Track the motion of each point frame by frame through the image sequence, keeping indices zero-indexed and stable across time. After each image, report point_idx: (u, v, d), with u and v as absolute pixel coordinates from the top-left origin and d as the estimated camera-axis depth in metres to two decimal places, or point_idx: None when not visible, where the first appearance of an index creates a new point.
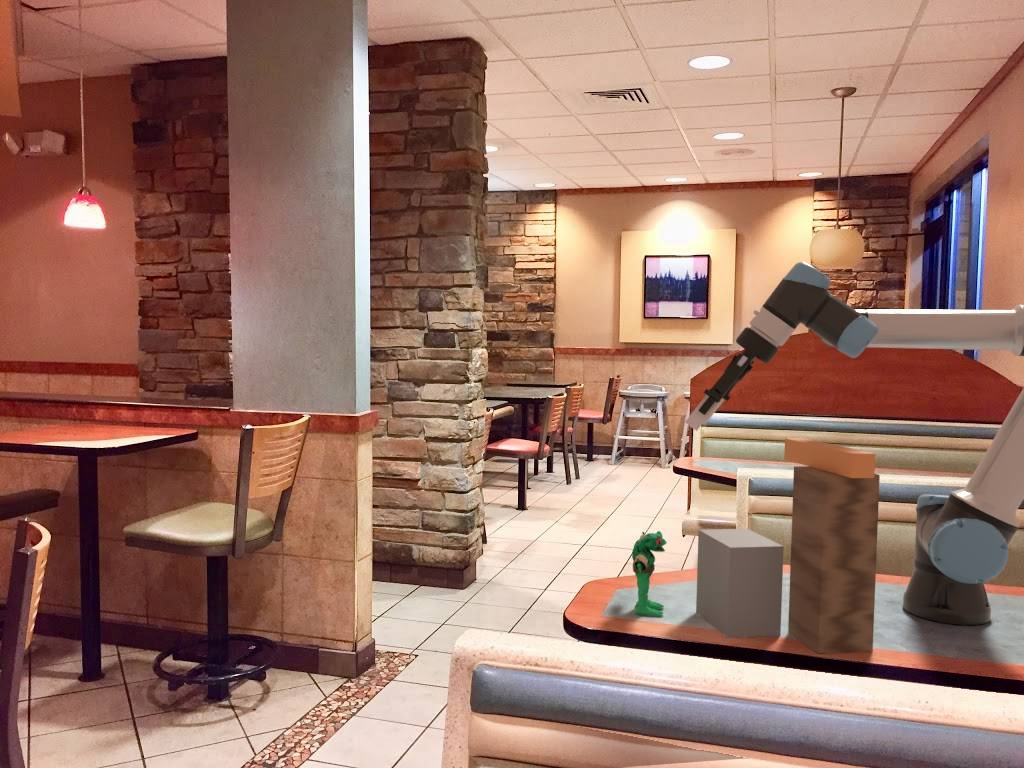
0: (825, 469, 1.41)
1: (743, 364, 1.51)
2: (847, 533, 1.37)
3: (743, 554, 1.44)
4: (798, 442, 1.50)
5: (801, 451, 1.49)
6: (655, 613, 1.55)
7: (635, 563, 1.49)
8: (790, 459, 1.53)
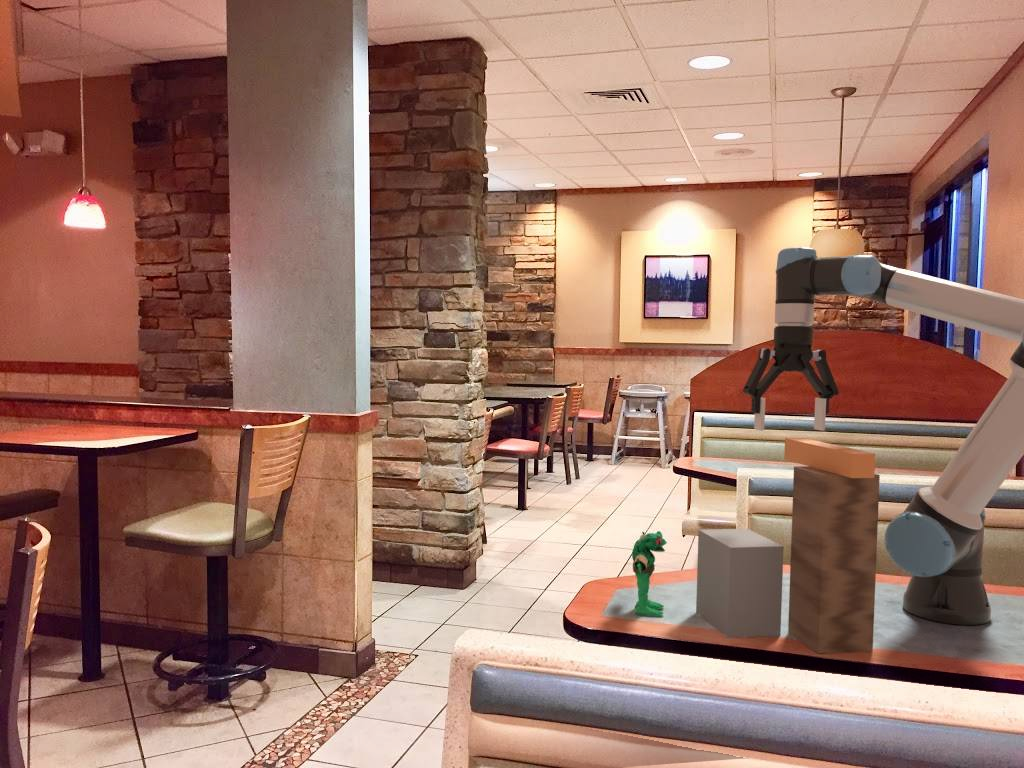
0: (825, 469, 1.41)
1: (763, 355, 1.64)
2: (847, 533, 1.37)
3: (743, 554, 1.44)
4: (798, 442, 1.50)
5: (801, 451, 1.49)
6: (655, 613, 1.55)
7: (635, 563, 1.49)
8: (790, 459, 1.53)
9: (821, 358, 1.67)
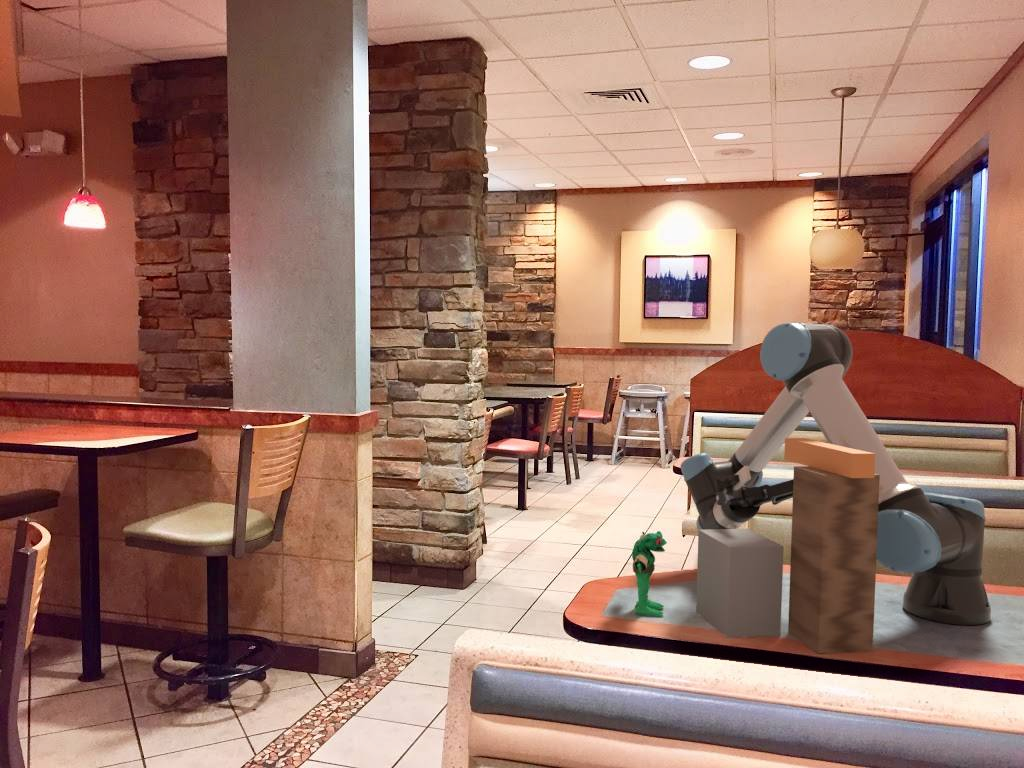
0: (825, 469, 1.41)
1: (717, 495, 1.73)
2: (847, 533, 1.37)
3: (743, 554, 1.44)
4: (798, 442, 1.50)
5: (801, 451, 1.49)
6: (655, 613, 1.55)
7: (635, 563, 1.49)
8: (790, 459, 1.53)
9: None
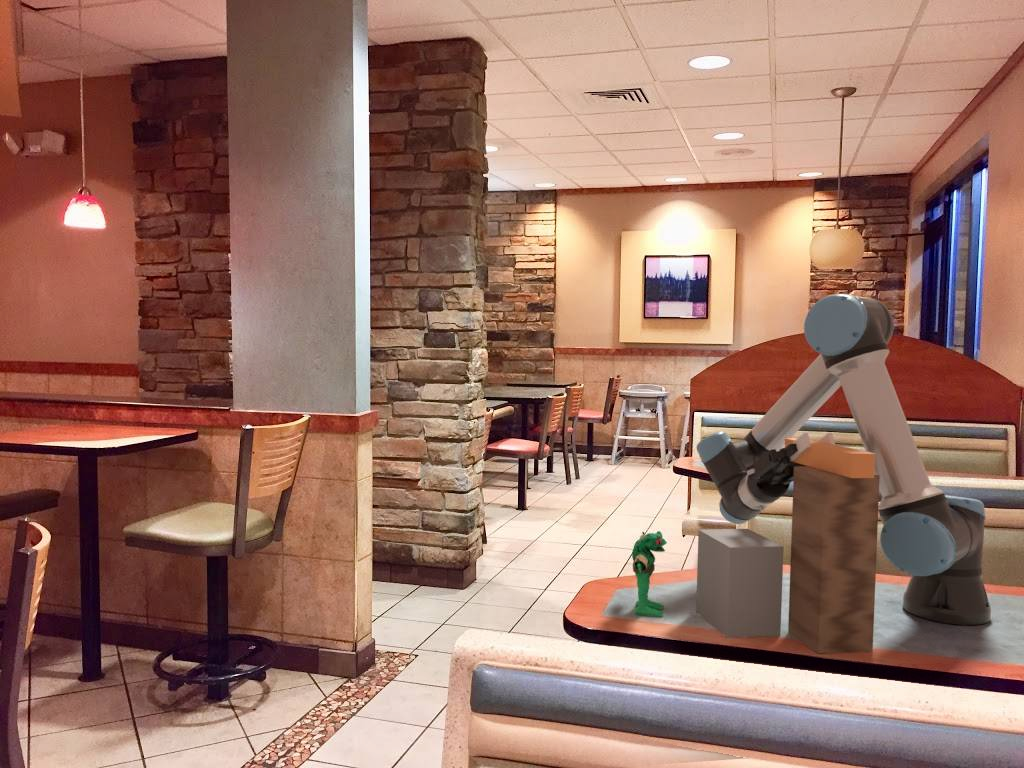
0: (825, 469, 1.41)
1: (750, 468, 1.59)
2: (847, 533, 1.37)
3: (743, 554, 1.44)
4: None
5: None
6: (655, 613, 1.55)
7: (635, 563, 1.49)
8: (790, 459, 1.53)
9: None
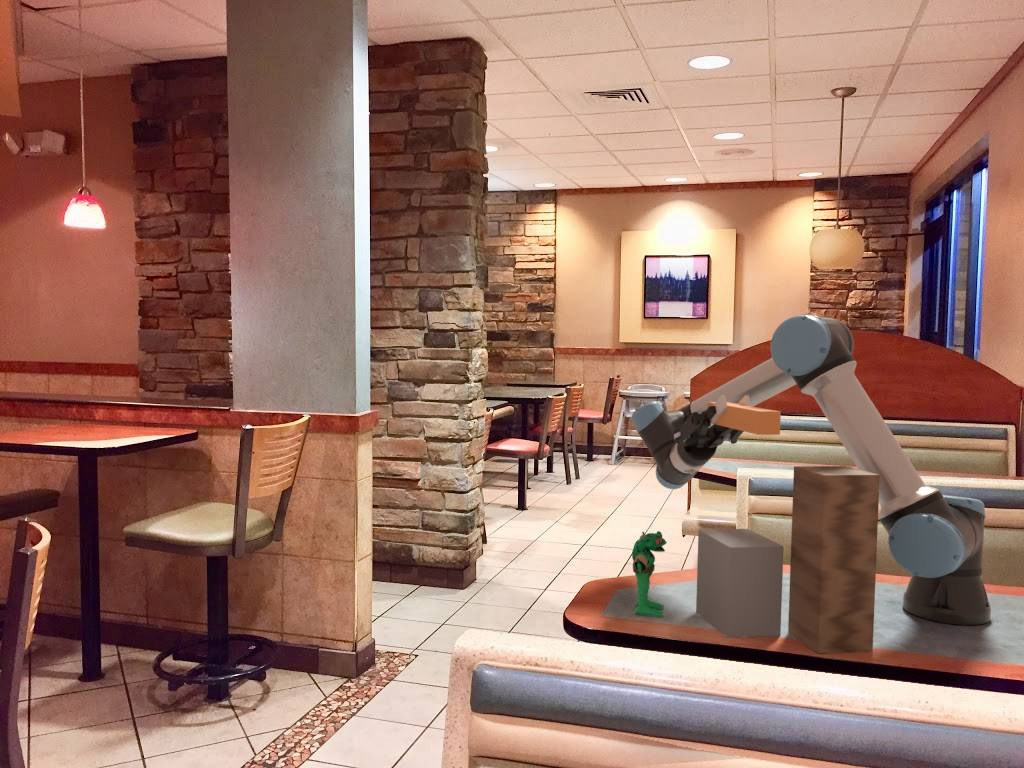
0: (738, 428, 1.47)
1: (677, 432, 1.66)
2: (847, 533, 1.37)
3: (743, 554, 1.44)
4: None
5: None
6: (655, 613, 1.55)
7: (635, 563, 1.49)
8: None
9: None
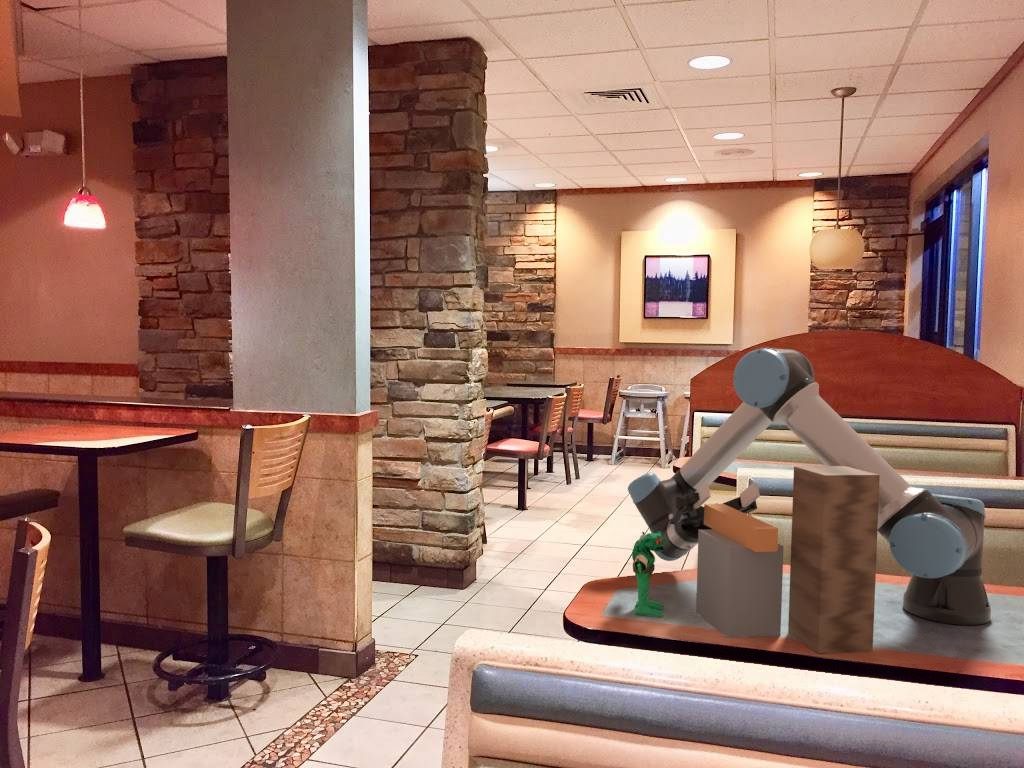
0: (735, 539, 1.48)
1: (670, 513, 1.67)
2: (847, 533, 1.37)
3: (743, 554, 1.44)
4: (714, 510, 1.57)
5: (717, 519, 1.56)
6: (655, 613, 1.55)
7: (635, 563, 1.49)
8: (708, 525, 1.60)
9: None
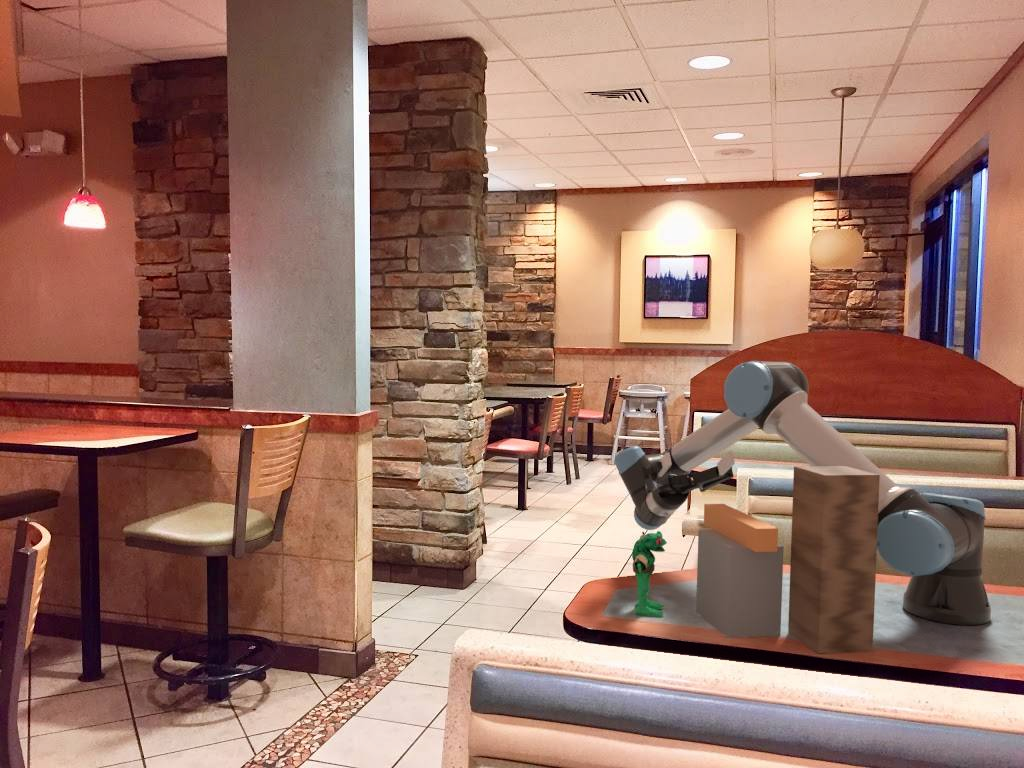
0: (735, 539, 1.48)
1: None
2: (847, 533, 1.37)
3: (743, 554, 1.44)
4: (714, 510, 1.57)
5: (717, 519, 1.56)
6: (655, 613, 1.55)
7: (635, 563, 1.49)
8: (708, 525, 1.60)
9: None
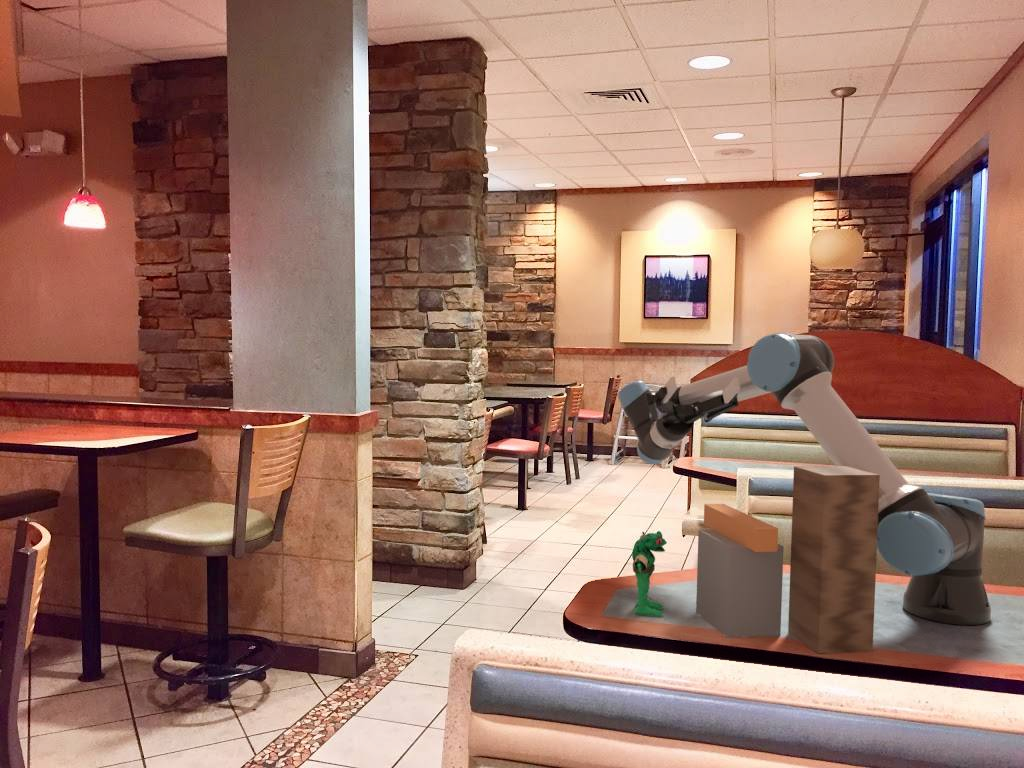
0: (735, 539, 1.48)
1: (650, 412, 1.79)
2: (847, 533, 1.37)
3: (743, 554, 1.44)
4: (714, 510, 1.57)
5: (717, 519, 1.56)
6: (655, 613, 1.55)
7: (635, 563, 1.49)
8: (708, 525, 1.60)
9: None
